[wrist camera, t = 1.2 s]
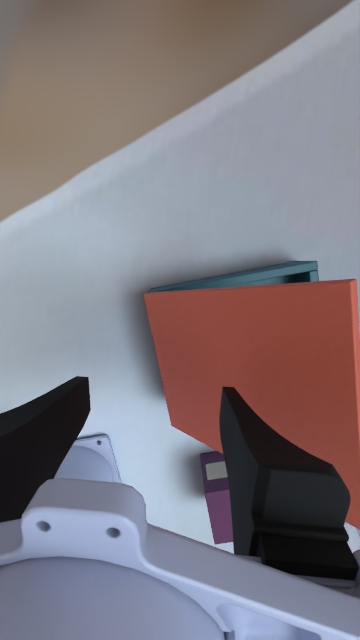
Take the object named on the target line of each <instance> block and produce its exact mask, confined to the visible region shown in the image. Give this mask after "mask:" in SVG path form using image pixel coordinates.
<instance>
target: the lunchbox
mask: <svg viewBox="0 0 360 640" xmlns="http://www.w3.org/2000/svg"><path fill="white" fill-rule="evenodd" d="M317 269H318V266H317V261H295V262H289V263H284V264H279V265H273V266H268V267H263V268H257V269H252V270H247V271H241V272H236V273H231V274H225V275H220V276H215V277H209V278H204V279H199V280H193V281H188V282H183V283H177V284H172V285H167V286H162V287H156V288H152V289H151V290H150V291H149V292H148V293H150V292H165V291H180V290H195V289H210V288H225V287H241V286H256V285H271V284H286V283H301V282H316V281H319V279H318V270H317Z"/></svg>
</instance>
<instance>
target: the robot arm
mask: <svg viewBox="0 0 360 640" xmlns="http://www.w3.org/2000/svg"><path fill="white" fill-rule="evenodd" d="M90 410H91V409H90V394H89V380H88V377H80V376H77V377H75V378H73V379H71V380H69V381H67V382H65V383H63V384H62V385H60V386H58V387H56V388H55V389H53V390H51V391H49V392H47V393H46V394H44V395H42V396H40V397H38V398H36V399H34V400H32V401H30V402H28V403H26V404H23V405H21V406H19V407H16V408H14V409H12V410H9V411H7V412H4V413H1V414H0V640H360V550H357V551H355V552H354V553H353V554H352V552H351V550H350V548H349V545H348V543H347V541H348V540H349V536H348V534H347V532H346V530H345V528H344V523H345V519H346V516H347V513H348V510H349V507H350V501H351V497H350V492H349V490H348V488H347V486H346V485H345V483H344V481H343V479H342V478H341V476H340V475H339V473H338V472H337V470H336V469H335V467H334V466H333V464H331V463H328V462H326V461H324V460H322V459H320V458H318V457H316V456H314V455H312V454H310V453H308V452H306V451H305V450H303V449H301V448H299V447H298V446H296V445H294V444H293V443H291V442H290V441H288V440H287V439H286V438H284V437H283V436H281V435H280V434H279V433H277V432H276V431H275V430H274V429H272V428H271V427H270V426H269V425H268V424H266V423H265V422H264V421H263V420H262V419H261V418H260V417H259V416H258V415H257V414H256V413H255V412H254V411H253V410H252V408H251V407H250V406H249V405H248V404H247V403H246V401H245V400H244V399H243V398H242V396H241V395H240V394H239V393H238V391H237V390H236V389H235V388H234V387H225V386H222V396H221V405H220V415H219V427H220V438H221V444H222V449H223V455H224V460H225V465H226V470H227V476H228V483H229V492H230V504H231V516H232V530H233V544H234V554H233V553H230V552H227V551H224V550H221V549H219V548H216V547H213V546H210V545H207V544H205V543H202V542H199V541H196V540H193V539H191V538H188V537H185V536H182V535H179V534H176V533H174V532H171V531H168V530H165V529H162V528H160V527H157V526H154V525H151V524H148V523H147V521H146V505H145V502H144V499H143V496H142V495H141V494H140V493H139V492H138V491H137V490H136V489H134V488H133V487H132V486H129V485H126V484H122V483H121V480H120V476H119V473H118V469H117V465H116V461H115V458H114V454H113V450H112V447H111V443H110V439H109V437H108V436H106V435H102V436H96V437H91V438H85V439H79V440H76V438H77V437H78V435H79V433H80V432H81V430H82V428H83V426H84V424H85V422H86V419H87V417H88V415H89V412H90ZM98 440H100V441H101V442H98Z"/></svg>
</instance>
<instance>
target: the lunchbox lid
mask: <svg viewBox="0 0 360 640" xmlns="http://www.w3.org/2000/svg"><path fill="white" fill-rule="evenodd" d="M144 299H145V304H146V309H147V313H148V318H149V323H150V327H151V332H152V337H153V341H154V346H155V351H156V355H157V360H158V365H159V369H160V374H161V379H162V383H163V388H164V393H165V397H166V402H167V407H168V411H169V416H170V421H171V425H172V426H173V427H175V428H177V429H179V430H181V431H182V432H184V433H186V434H188V435H190V436H191V437H193V438H195V439H197V440H199V441H200V442H202V443H204V444H206V445H208V446H209V447H211V448H213V449H215V450H217V451H219V452H220V453H222V454H223V449H222V444H221V438H220V427H219V415H220V405H221V396H222V386H225V387H234V388H235V389H236V390H237V391H238V393H239V394H240V395H241V396H242V398H243V399H244V400H245V401H246V403H247V404H248V405H249V406H250V407H251V408H252V410H253V411H254V412H255V413H256V414H257V415H258V416H259V417H260V418H261V419H262V420H263V421H264V422H265V423H266V424H268V425H269V426H270V427H271V428H272V429H274V430H275V431H276V432H277V433H279V434H280V435H281V436H283V437H284V438H286V439H287V440H288V441H290V442H291V443H293V444H294V445H296V446H298V447H299V448H301V449H303V450H305V451H306V452H308V453H310V454H312V455H314V456H316V457H318V458H320V459H322V460H324V461H326V462H328V463H331V464H333V466H334V467H335V469H336V470H337V472H338V473H339V475H340V476H341V478H342V479H343V481H344V483H345V485H346V486H347V488H348V490H349V492H350V497H351V501H350V507H349V510H348V513H347V516H346V519H345V522H347V523H349V524H350V525H352V526H354V527H356V528H358V529H360V335H359V316H358V297H357V280H356V279H347V280H332V281H316V282H301V283H286V284H271V285H256V286H241V287H225V288H210V289H195V290H180V291H165V292H150V293H145V294H144Z"/></svg>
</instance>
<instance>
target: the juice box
mask: <svg viewBox="0 0 360 640" xmlns="http://www.w3.org/2000/svg"><path fill="white" fill-rule="evenodd" d="M200 456H201V465H202V474H203V482H204V491H205V497H206V502H207V507H208V512H209V517H210V522H211V528H212V533H213V538H214V543H215V544H221V543H227V542H233V530H232V516H231V504H230V492H229V483H228V476H227V470H226V465H225V460H224V455H223V454H222V453H220V452H219V451H217V452H211V453H205V454H201V455H200Z"/></svg>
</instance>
